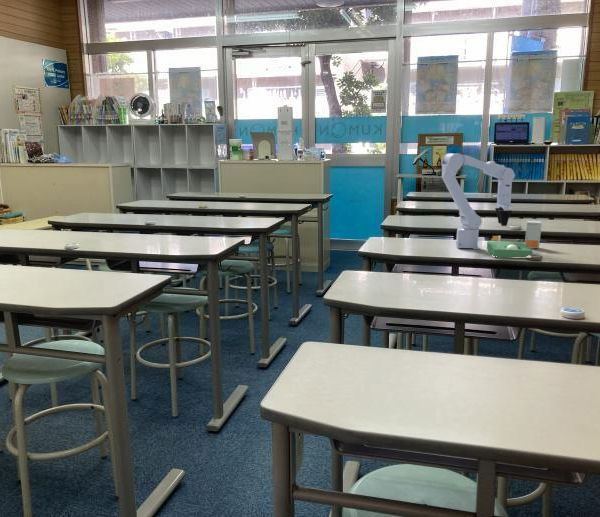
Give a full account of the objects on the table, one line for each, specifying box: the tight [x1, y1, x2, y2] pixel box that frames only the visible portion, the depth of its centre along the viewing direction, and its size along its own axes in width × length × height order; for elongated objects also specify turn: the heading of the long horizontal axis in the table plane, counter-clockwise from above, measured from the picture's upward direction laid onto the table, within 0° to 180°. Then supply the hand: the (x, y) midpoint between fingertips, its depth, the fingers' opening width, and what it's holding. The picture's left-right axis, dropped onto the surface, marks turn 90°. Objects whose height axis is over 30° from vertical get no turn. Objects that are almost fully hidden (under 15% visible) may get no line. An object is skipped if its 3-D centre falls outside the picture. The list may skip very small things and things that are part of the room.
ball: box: [506, 245, 518, 249], centre depth 226 cm, size 5×5×5 cm
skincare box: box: [524, 220, 543, 249], centre depth 244 cm, size 6×4×12 cm
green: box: [486, 235, 533, 257], centre depth 231 cm, size 16×20×9 cm
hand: (502, 224), depth 245 cm, fingers open, 7 cm apart
